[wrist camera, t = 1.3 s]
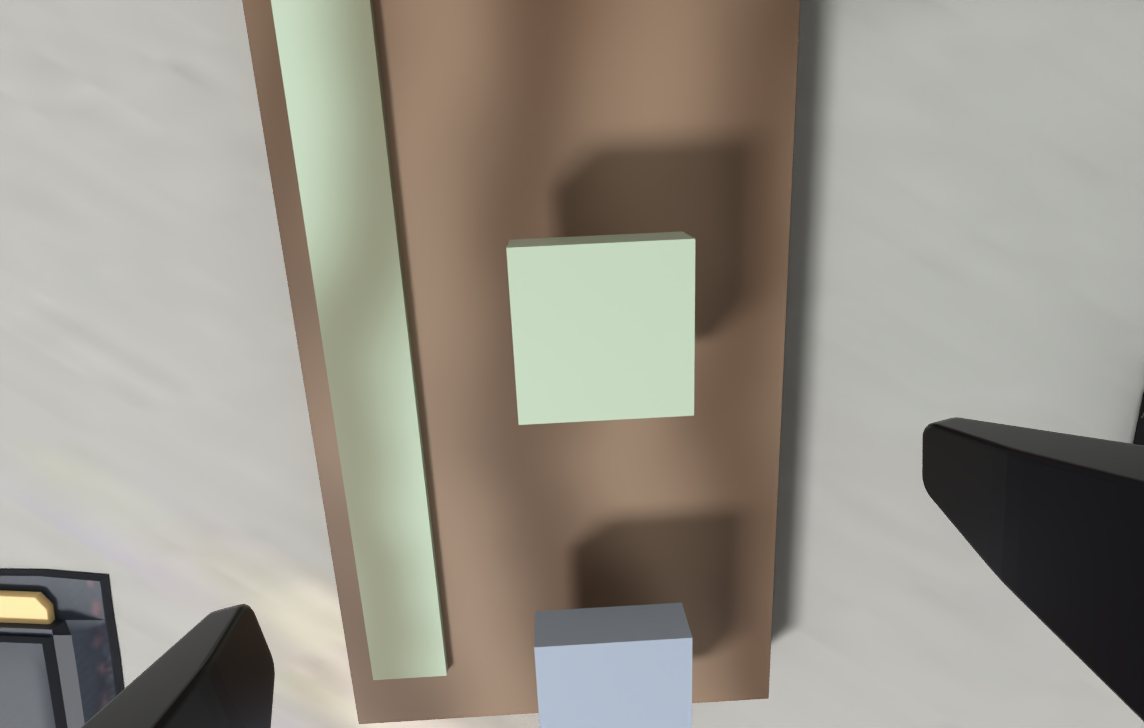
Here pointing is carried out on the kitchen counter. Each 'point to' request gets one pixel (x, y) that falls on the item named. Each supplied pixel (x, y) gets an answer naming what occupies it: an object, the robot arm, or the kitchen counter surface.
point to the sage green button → (603, 326)
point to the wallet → (56, 648)
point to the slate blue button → (614, 667)
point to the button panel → (484, 330)
